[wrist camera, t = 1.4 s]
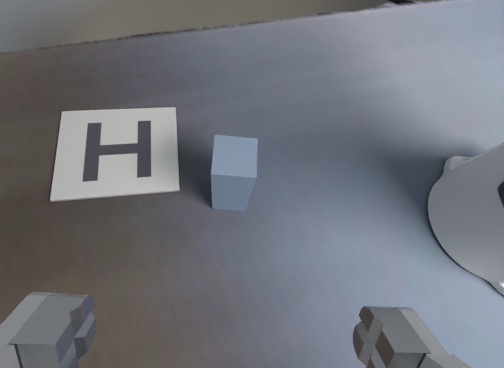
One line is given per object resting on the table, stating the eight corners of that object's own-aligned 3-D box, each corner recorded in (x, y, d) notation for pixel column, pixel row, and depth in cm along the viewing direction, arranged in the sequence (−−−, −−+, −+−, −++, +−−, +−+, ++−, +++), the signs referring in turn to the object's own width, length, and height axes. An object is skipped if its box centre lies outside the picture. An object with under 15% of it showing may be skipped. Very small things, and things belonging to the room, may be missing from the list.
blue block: (247, 180, 35) (258, 138, 26) (245, 211, 34) (256, 177, 25) (215, 178, 35) (214, 134, 26) (212, 208, 33) (210, 174, 24)
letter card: (175, 108, 38) (175, 106, 38) (179, 190, 34) (179, 189, 33) (63, 113, 36) (61, 111, 36) (51, 201, 32) (49, 200, 31)
